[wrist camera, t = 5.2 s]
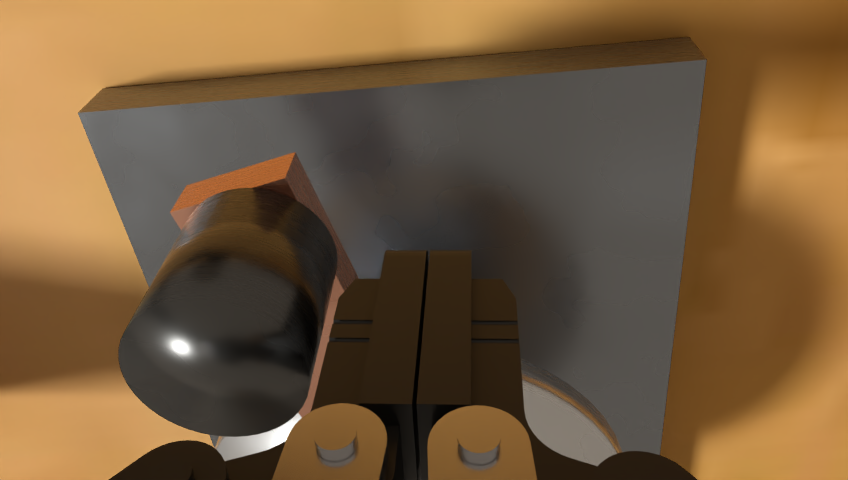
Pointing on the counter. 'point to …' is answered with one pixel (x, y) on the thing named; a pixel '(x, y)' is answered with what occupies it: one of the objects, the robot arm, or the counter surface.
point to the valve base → (464, 185)
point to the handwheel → (276, 320)
